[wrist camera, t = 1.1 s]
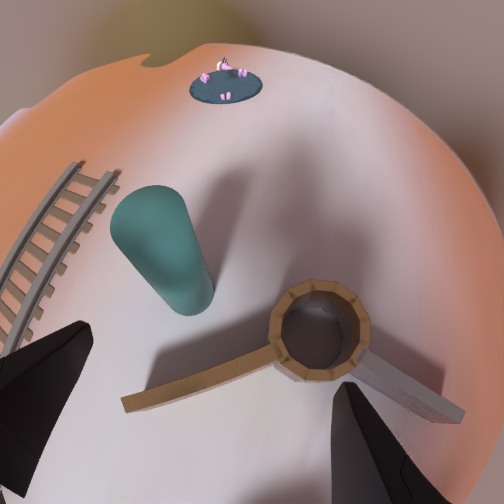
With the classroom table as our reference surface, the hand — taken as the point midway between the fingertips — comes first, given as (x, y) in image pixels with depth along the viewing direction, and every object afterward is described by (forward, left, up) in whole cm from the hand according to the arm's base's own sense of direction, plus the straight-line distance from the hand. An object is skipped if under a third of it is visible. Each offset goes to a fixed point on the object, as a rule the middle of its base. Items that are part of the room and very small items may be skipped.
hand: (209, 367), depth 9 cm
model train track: (-8, +25, -15) cm, 31 cm away
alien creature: (+32, +27, -15) cm, 45 cm away
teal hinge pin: (+4, +8, -15) cm, 17 cm away
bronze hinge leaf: (+1, -1, -15) cm, 15 cm away
